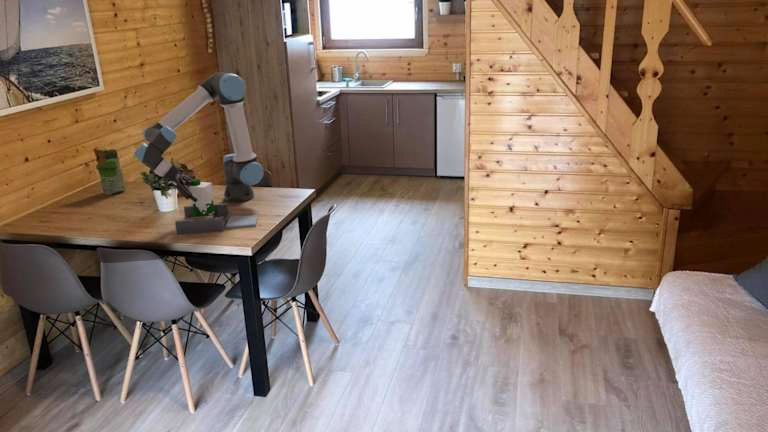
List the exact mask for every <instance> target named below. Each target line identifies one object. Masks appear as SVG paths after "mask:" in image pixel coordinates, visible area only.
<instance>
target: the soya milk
mask: <svg viewBox="0 0 768 432" xmlns="http://www.w3.org/2000/svg"><path fill="white" fill-rule="evenodd" d="M212 184H213V183H212V182H207V181H202V182H201V179H199V178H196V179H193V180H191V185H190V186H189V190H190V192H191V193H192V195H193V194H194V195H196V196H197V197H198V198H200V199H201V200H202V201H204V202H205V204H204V205H203V206H202V207H200V206H198V205H197V204H196V203H194V202H193V201H192V200H191V206H193V212H194V217H201V216H212V215H213V217H214V218H216V217H215V211H214V204H215V203H214V197H213V188H212V187H213V185H212Z"/></svg>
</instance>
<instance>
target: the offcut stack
mask: <svg viewBox="0 0 768 432" xmlns="http://www.w3.org/2000/svg"><path fill="white" fill-rule="evenodd" d="M207 218H214V217H213V215H212V216H201V217H190V218H186V219H185V220H193V219H207Z"/></svg>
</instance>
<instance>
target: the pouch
mask: <svg viewBox="0 0 768 432" xmlns="http://www.w3.org/2000/svg"><path fill="white" fill-rule="evenodd" d="M92 151H93V152H94V155H95V157H96V159H95V161H96V162H97V164H96V165H95V167H96V170H97V171H98V174H99V178H100V184H101V187H102V191H103V193H104V195H105V194H111V195H113V194H117V193H121V192H120V191H122V192H126V186H125V181H124V176H123V170H122V168H121V166H120V165H121V161H120V156H119V154H118V150H117V149H113V148H111V149H110V148H109V149H106V148H103V149H97V148H93V149H92Z"/></svg>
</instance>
